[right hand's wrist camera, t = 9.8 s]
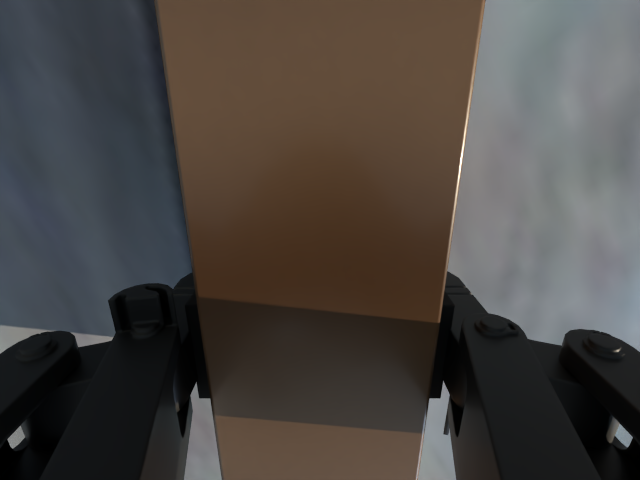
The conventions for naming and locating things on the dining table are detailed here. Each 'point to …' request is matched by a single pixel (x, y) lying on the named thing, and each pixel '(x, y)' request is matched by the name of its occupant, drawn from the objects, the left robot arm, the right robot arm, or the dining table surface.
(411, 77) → the plank
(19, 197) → the dining table surface
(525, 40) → the dining table surface
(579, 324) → the dining table surface
